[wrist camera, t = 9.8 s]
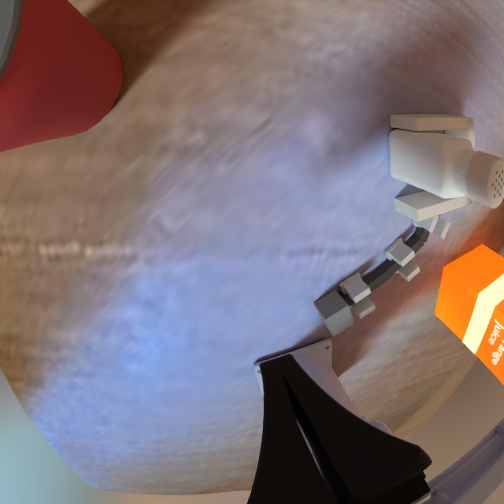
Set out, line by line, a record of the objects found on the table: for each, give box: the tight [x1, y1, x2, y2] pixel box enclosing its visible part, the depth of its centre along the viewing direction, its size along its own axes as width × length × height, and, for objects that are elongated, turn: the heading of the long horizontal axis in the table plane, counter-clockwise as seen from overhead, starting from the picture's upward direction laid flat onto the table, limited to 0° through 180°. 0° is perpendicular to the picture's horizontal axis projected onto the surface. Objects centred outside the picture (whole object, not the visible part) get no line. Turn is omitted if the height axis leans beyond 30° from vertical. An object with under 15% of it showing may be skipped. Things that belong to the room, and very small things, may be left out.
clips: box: [339, 215, 451, 318], centre depth 23 cm, size 4×13×2 cm, turn 132°
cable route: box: [314, 227, 430, 337], centre depth 23 cm, size 3×16×2 cm, turn 129°
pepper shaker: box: [389, 129, 504, 209], centre depth 15 cm, size 4×4×10 cm
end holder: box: [390, 114, 474, 222], centre depth 19 cm, size 8×8×3 cm
